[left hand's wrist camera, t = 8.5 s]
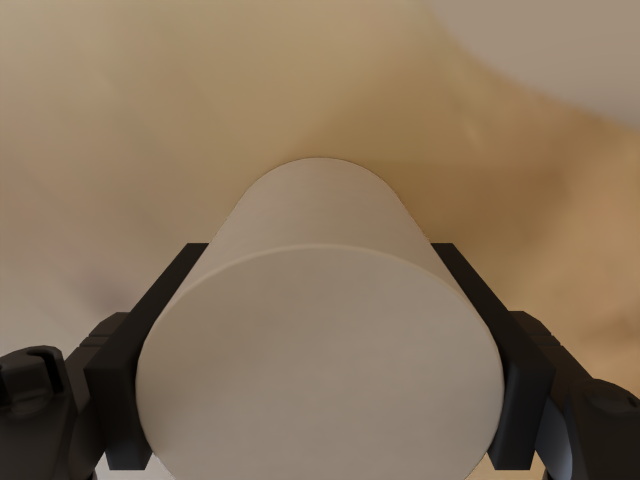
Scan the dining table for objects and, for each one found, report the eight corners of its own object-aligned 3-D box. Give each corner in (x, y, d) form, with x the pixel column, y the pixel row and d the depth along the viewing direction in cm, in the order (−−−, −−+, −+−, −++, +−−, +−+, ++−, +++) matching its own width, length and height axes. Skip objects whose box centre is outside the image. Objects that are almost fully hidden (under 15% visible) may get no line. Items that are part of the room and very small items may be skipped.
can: (386, 130, 15) (471, 188, 7) (429, 301, 18) (528, 497, 9) (197, 191, 16) (60, 311, 7) (266, 345, 18) (220, 561, 10)
